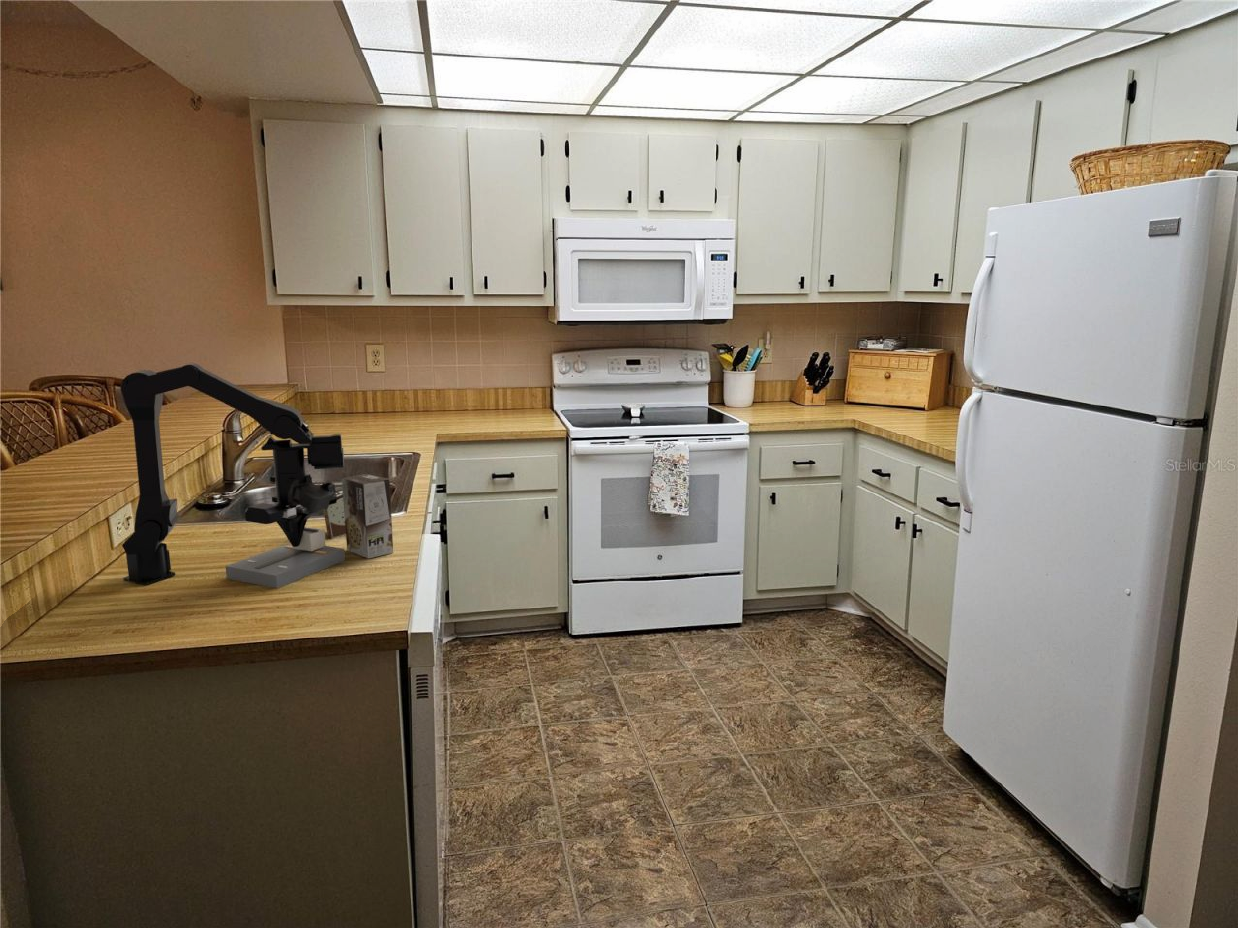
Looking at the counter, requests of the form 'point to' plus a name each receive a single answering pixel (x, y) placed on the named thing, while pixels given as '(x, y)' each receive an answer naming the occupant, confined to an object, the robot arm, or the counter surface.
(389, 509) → the coffee box
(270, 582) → the fader console
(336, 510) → the food container
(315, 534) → the fader tab
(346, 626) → the counter surface
